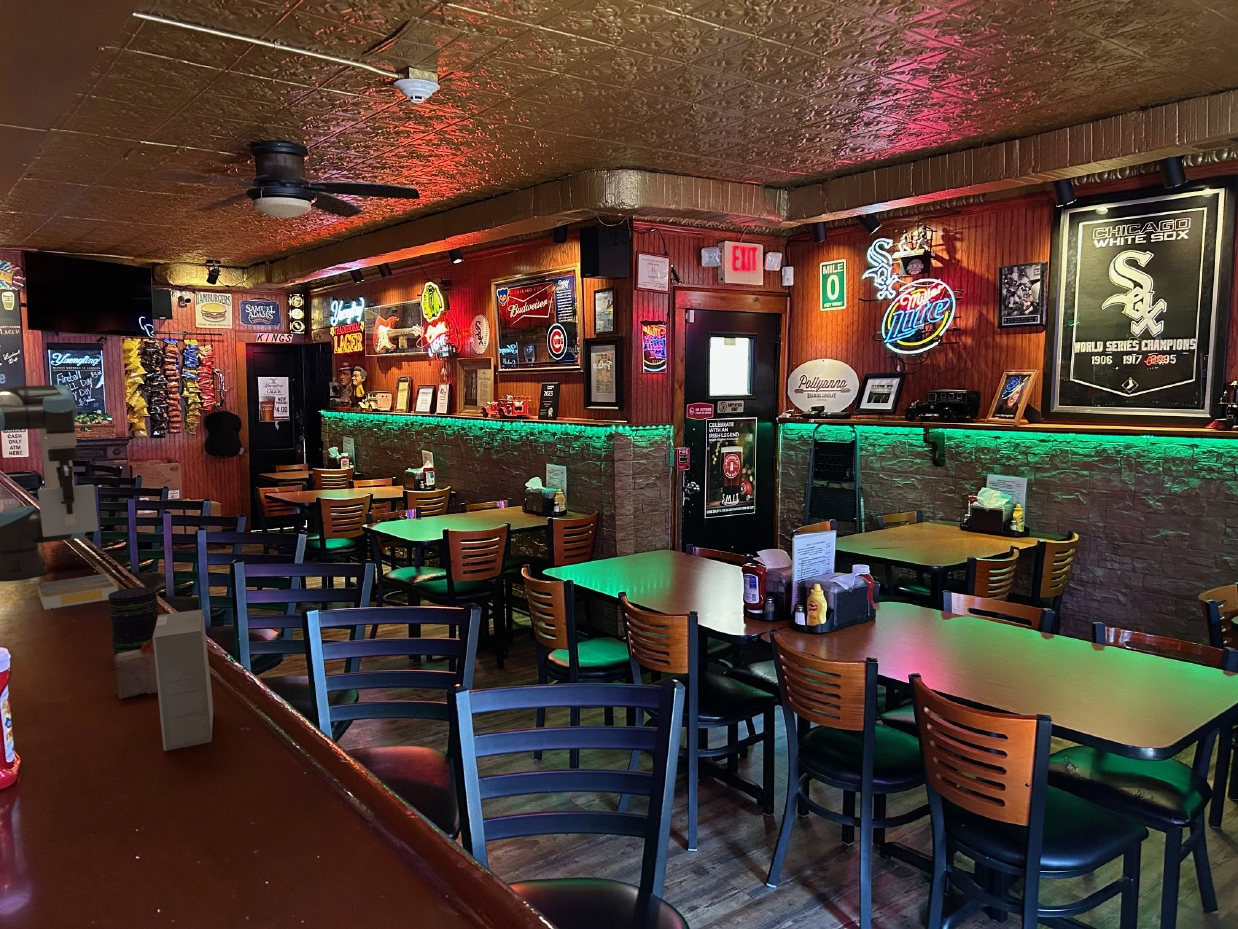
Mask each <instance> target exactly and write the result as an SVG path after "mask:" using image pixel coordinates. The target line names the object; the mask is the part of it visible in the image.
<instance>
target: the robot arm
mask: <svg viewBox="0 0 1238 929" xmlns="http://www.w3.org/2000/svg"><path fill="white" fill-rule="evenodd" d="M77 417H78V410H77V405H76V400H75V398H74V394H73V391H72V389H71V387H70V386H68V385H64V384H46V385H45V384H43V385H42V384H40V385H16V386H15V385H14V386H10V387H6V388H3V389H1V390H0V432H4V431H21V430H23V431H24V430H28V431H29V430H39V437H40V438H39V439H40V449H41V455H42V456H41V457H42V458H41V459H42V467H43V468H42V469H43V477H44V486H45V487H44V489H45V488H57V487H62V491H63V499H64V501H63V502H61V504H63V507H64V517H65V525H75V524H76V518H75V508H74V500H75V499H74V494H73V486H76V485H75V476H74V465H73V461H76V460H78V459H79V454H78V453H79V452H78V448H77V447H76V446H77V445H78V442H77V433H76V428H75V427H76V426H75V419H76V418H77ZM86 533H87V532H82V533H73V534H65V535H56V536H47V537H43V534H42V524H41V515H40V508H38V509H37V508H35V506H34V505H26V506H24V505H23V506H19V507H12V508H10V509H6V510H5V509H4V510H2V511H0V581H2V582H4V581H17V580H25V579H26V580H27V579H30V578H35V577H39V576H43V575H45V574H47V573H48V567H47V564H46V563H45V561H44V558H43V556H42V555H41V553H40V550H39V544H43V543H52V542H61V541H71V540H76V539H81V538H83V537H84V536H85V535H86Z"/></svg>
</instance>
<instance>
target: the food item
mask: <svg viewBox="0 0 1238 929" xmlns="http://www.w3.org/2000/svg"><path fill="white" fill-rule="evenodd" d="M112 663H113V666H114V667H113V668H114V680H113V681H114V683H113V685H114V687H115V688H114V689H115V692H114V694H115V695H116V696H117V698H118V699H119V700H124V699H127V698H132V697H137V696H140V695H139V694H142V695H144V693H145V694H150V695H151V694H152V693H155V694H158V686H157V676H156V666H155V656H154V646H153V642H150V641H149V642H147V643H144V644H142V645H141V649H140V650H134V651H131V652H130V651H129V652H124V653H119V654H117V655H116V656H115V655H114V656H113V657H112ZM152 695H153V694H152Z"/></svg>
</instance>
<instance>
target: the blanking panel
mask: <svg viewBox="0 0 1238 929" xmlns="http://www.w3.org/2000/svg"><path fill="white" fill-rule="evenodd" d="M37 491H38V492H37V494H38V502H39V509H40V515H41V524H42V534H43V537H47V536H56V535H65V534H73V533H82V532H86V533H88V532H89V533H90V532H98V531H99V521H98V513H97V505H96V504H97V502H96V501H97V500H96V493H95V492H96V491H95V485H94V484H83V485H75V486H73V494H74V499H75V500H74V508H75V518H76V524H75V525H65V517H64V507H63V504H61V502H63V501H64V499H63V491H62V487H57V488H45V487H44V488H38V489H37Z"/></svg>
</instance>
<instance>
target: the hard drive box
mask: <svg viewBox="0 0 1238 929" xmlns="http://www.w3.org/2000/svg"><path fill="white" fill-rule="evenodd" d="M157 616H158V619H157V622H156V627H155V631H154V635H153V638H152V639H153V646H154V656H155V666H156V676H157V686H158V693H157V694H158V704H159V706H158V707H159V716H160V728H161V736H162V737H161V738H162V745H163V746H162V748H163V751H165V752H168V751H172V750H176V749H182V748H187V747H193V746H198V745H203V744H208V743H212V738H213V719H214V704H213V693H212V684H211V683H212V682H211V672H210V663H209V654H208V645H207V643H208V642H207V636H206V634H207V633H206V623H205V622H206V621H205V612H204V610H203V609H196V610H187V611H179V612H173V613H165V614H159V615H158V614H157Z"/></svg>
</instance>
